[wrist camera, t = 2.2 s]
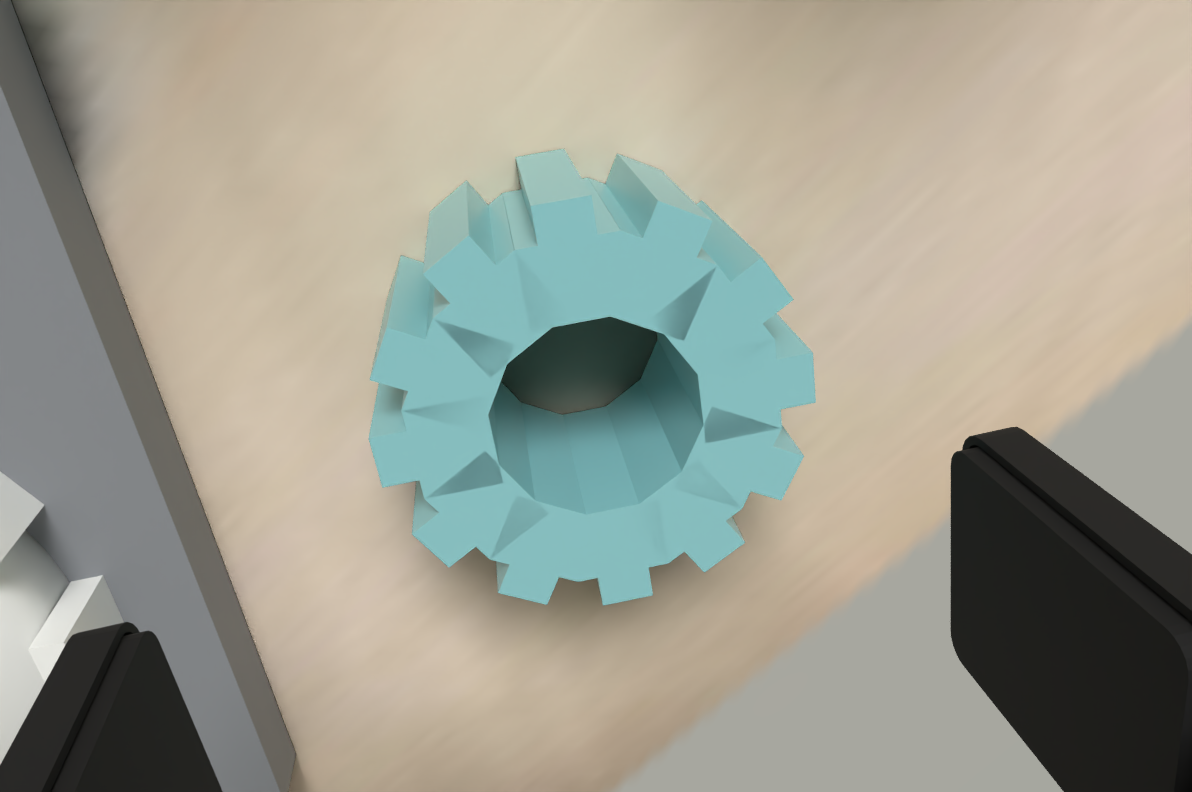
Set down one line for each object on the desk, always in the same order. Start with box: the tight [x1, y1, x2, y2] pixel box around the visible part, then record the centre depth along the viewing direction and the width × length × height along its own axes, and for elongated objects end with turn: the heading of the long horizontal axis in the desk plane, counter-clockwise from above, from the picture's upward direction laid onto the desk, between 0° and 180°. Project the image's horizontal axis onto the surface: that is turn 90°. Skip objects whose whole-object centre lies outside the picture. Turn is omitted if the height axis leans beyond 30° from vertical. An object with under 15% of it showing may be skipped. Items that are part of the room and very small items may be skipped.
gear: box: [369, 149, 816, 605], centre depth 17 cm, size 7×7×4 cm
